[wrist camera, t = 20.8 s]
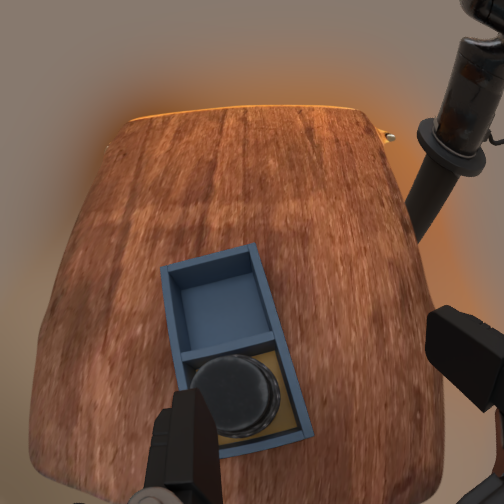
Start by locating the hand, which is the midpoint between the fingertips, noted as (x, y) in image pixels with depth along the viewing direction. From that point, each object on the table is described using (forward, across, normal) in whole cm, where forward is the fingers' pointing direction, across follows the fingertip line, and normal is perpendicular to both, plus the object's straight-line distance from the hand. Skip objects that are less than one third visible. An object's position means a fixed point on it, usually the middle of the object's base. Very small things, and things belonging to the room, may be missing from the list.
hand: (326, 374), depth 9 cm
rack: (+18, +4, +10) cm, 21 cm away
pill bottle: (+14, +4, +13) cm, 20 cm away
